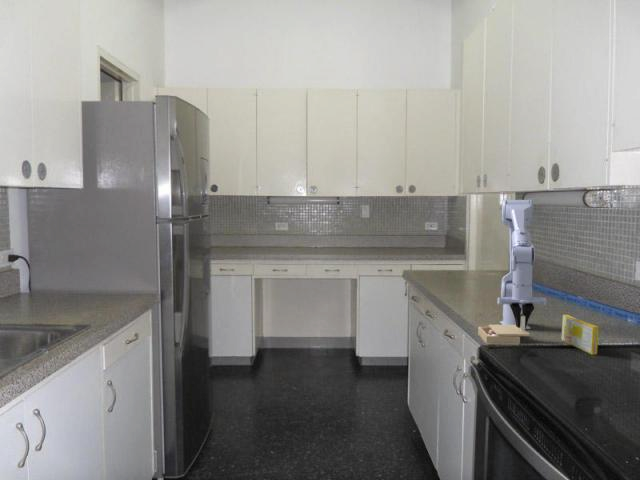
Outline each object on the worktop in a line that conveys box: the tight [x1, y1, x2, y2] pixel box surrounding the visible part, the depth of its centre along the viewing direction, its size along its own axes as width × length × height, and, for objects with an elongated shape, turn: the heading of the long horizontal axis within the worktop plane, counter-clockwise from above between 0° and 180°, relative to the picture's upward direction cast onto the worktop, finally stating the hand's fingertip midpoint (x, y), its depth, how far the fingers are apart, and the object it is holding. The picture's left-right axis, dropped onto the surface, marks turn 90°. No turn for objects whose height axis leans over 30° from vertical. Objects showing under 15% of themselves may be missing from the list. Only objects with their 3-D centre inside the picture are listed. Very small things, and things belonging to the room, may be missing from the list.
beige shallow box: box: [477, 326, 521, 346], centre depth 173 cm, size 12×10×3 cm
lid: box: [488, 314, 531, 337], centre depth 173 cm, size 12×10×5 cm
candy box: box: [561, 314, 600, 356], centre depth 165 cm, size 16×2×8 cm, turn 6°
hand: (521, 327), depth 173 cm, fingers closed on lid
